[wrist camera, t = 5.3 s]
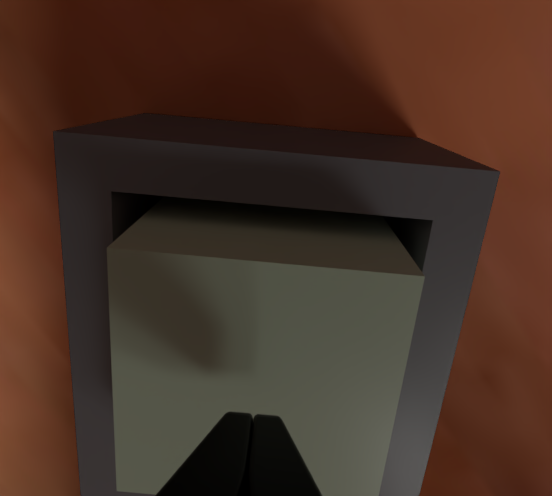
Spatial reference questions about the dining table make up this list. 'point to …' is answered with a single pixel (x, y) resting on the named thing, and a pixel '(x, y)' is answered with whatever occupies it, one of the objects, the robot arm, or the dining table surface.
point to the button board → (274, 192)
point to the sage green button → (258, 335)
